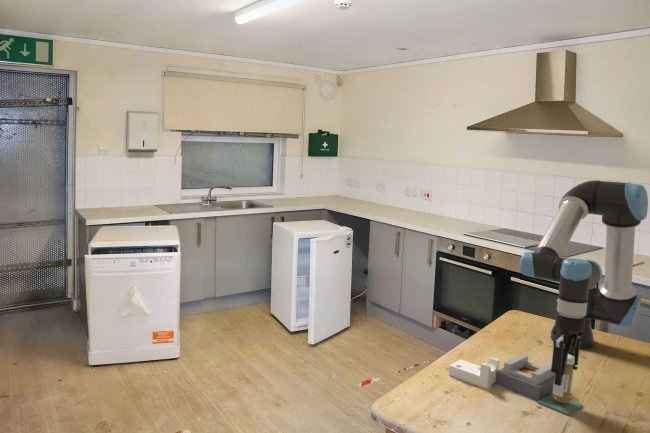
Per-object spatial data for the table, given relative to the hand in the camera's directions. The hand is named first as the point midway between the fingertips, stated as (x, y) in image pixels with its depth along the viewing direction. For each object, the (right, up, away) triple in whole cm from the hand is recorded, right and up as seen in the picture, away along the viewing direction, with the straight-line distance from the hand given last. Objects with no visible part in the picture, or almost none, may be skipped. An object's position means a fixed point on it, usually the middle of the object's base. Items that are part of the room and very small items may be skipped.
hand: (561, 392), depth 155 cm
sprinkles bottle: (0, -2, 0) cm, 2 cm away
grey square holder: (-5, -2, +12) cm, 13 cm away
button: (-5, -1, +12) cm, 13 cm away
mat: (0, -4, +1) cm, 4 cm away
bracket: (-21, -1, +15) cm, 26 cm away
